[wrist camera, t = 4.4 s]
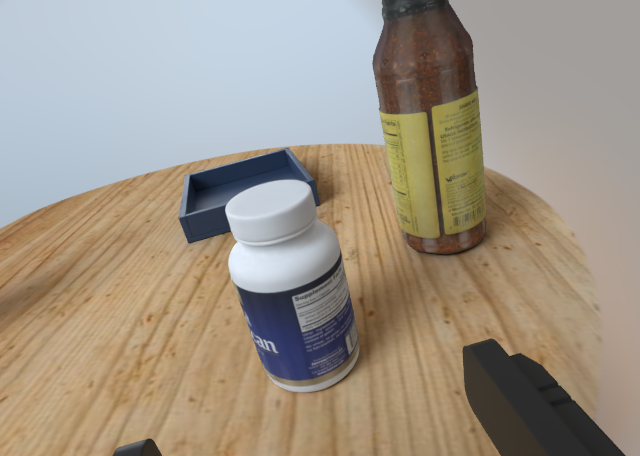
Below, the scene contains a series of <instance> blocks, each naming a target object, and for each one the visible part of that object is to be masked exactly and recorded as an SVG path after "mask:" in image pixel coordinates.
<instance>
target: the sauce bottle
mask: <svg viewBox="0 0 640 456" xmlns="http://www.w3.org/2000/svg"><path fill="white" fill-rule="evenodd" d="M382 5H383V8H382V16H383V19H384V26H383V30H382V33H381V36H380V39H379V42H378V44H377V47H376V50H375V54H374V56H373V70H374V75H375V80H376V87H377V91H378V97H379V103H380V108H379V111H380V117H381V123H382V128H383V134H384V139H385V145H386V151H387V157H388V162H389V168H390V174H391V180H392V185H393V191H394V197H395V203H396V209H397V215H398V221H399V225H400V227H401V229H402V233H403V236H404V239H405V240H406V242H407V243H408V244H409V245H410V247H412V248H413V249H415V250H416V251H418V252H425V253H436V254H451V253H458V252H461V251H464V250H466V249H470V248H472V247H474V246H475V245H476V244H478V243H479V242H480V241H481V240H482V239H483V236H484V234H485V230H486V221H485V216H486V212H487V209H486V195H485V182H484V166H483V152H482V139H481V124H480V112H479V99H478V88H477V86H476V81H475V72H474V62H473V44H472V39H471V37H470V35H469V34H468V32H467V31H466V30H465V28H464V27H463V25H462V23H461V22H460V20H459V18H458V17H457V15H456V13H455V12H454V10H453V9H452V7H451V5H450V4H449V1H448V0H382Z"/></svg>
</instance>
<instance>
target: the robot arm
mask: <svg viewBox="0 0 640 456" xmlns="http://www.w3.org/2000/svg"><path fill="white" fill-rule="evenodd" d="M463 366H464V382H465V391H466V395H467V398H468V401H469V404H470V406H471V408H472V410H473V412H474V414H475V415H476V417H477V418H478V420H479V422H480V423H481V425H482V426H483V428H484V429H485V431H486V433H487V434H488V436H489V437H490V439H491V441H492V442H493V444H494V445H495V447H496V448H497V450H498V452H499V453H500V455H501V456H625V455H624V454H623V453H622V451H621V450H620V449H619V448H618V447H617V446H616V445H615V444H614V443H613V442H612V441H611V440H610V439H609V437H608V436H607V435H606V434H605V433H604V432H603V431H602V430H601V429H600V428H599V427H598V426H597V425H596V423H595V422H594V421H593V420H592V419H591V418H590V417H589V416H588V415H587V414H586V413H585V412H584V411H583V409H582V408H581V407H580V406H579V405H578V404H577V403H576V402H575V401H574V400H572V399H571V397H570V395H569V394H568V393H567V392H566V391H565V390H564V389H563V388H562V387H561V386H559V385H558V383H557V381H556V380H555V379H554V378H553V377H552V376H551V375H550V374H549V373H548V372H547V371H546V370H545V369H544V368H543V366H542V365H540V364H538V363H537V362H535V361H533V360H531V359H530V358H528V357H526V356H524V355H523V354H521V353H519V354H516V355H512V356H509V355H508V354H507V353H506V352H505V351H504V349H503V348H502V347H501V346H500V345H499V344H498V343H497V341H495V340H494V339H488V340H485V341H481V342H478V343H474V344H471V345H468V346H464V347H463ZM113 456H162V454H161V453H160V451H159V449H158V447H157V446H156V444H155V442H154V441H153V440H152V439H146V440H142V441H139V442H135V443H132V444H129V445H125V446H122V447H119V448H117V449H116V450H115V452H114V454H113Z"/></svg>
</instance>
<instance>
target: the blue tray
mask: <svg viewBox="0 0 640 456" xmlns="http://www.w3.org/2000/svg"><path fill="white" fill-rule="evenodd" d="M278 180H299V181H303V182H305V183H307V184H308V185H309V186H310V187H311V189H312V193H313V197H314V201H315V205H316V206H318V205H320V202H319V197H318V193H317V188H316V184H315V180H314V179H313V177H312V176H311V175H310V174H309V173H308V171H307V170H306V169H305V168H304V166H303V165H302V164H301V163H300V161H299V160H298V159H297V158H296V156H295V155H294V154H293V153H292V151H291V150H290V149H289V148H285V149H282V150H278V151H274V152H270V153H267V154H263V155H259V156H255V157H252V158H248V159H244V160H241V161H237V162H233V163H229V164H226V165H222V166H218V167H215V168H211V169H207V170H203V171H200V172H196V173H192V174H188V175H185V181H184V187H183V194H182V201H181V207H180V214H179V220H180V223H181V225H182V228H183V231H184V233H185V236H186V238H187V241H188V243H191V242H195V241H198V240H201V239H205V238H208V237H212V236H215V235H219V234H222V233H225V232H229V231H231V229H230V224H229V221H228V218H227V215H226V212H225V208H226V205H227V204H228V202H229V201H230V200H231V199H232V198H233V197H235V196H236V195H238V194H239V193H241V192H243V191H245V190H247V189H249V188H252V187H254V186H257V185H260V184H264V183H268V182H273V181H278Z"/></svg>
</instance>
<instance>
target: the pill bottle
mask: <svg viewBox="0 0 640 456" xmlns="http://www.w3.org/2000/svg"><path fill="white" fill-rule="evenodd" d="M225 212H226V215H227V218H228V221H229V224H230V229H231V232H232V233H233V236H234V238H235V239H236V241H238V242H237V243H236V244H235V246H234V247H233V249H232V251H231V253H230V256H229V261H228V265H229V271H230V275H231V278H232V281H233V284H234V287H235V289H236V292H237V295H238V298H239V301H240V304H241V306H242V309H243V312H244V315H245V317H246V320H247V323H248V326H249V329H250V332H251V334H252V337H253V340H254V343H255V345H256V348H257V351H258V354H259V357H260V359H261V362H262V365H263V367H264V369H265V372H266V373H267V375H268V377H269V378H270V379H271V380H272V381H273V382H274V383H275V384H276V385H278V386H279V387H281V388H283V389H285V390H288V391H292V392H301V393H304V392H314V391H319V390H322V389H325V388H327V387H329V386H331V385H333V384H335V383H337V382H338V381H340V380H341V379H342V378H343V377H345V376H346V375H347V374H348V373H349V371H350V370H351V369H352V368H353V366H354V364H355V363H356V360H357V358H358V354H359V338H358V332H357V327H356V322H355V317H354V312H353V308H352V303H351V298H350V293H349V289H348V284H347V279H346V274H345V270H344V264H343V259H342V255H341V250H340V246H339V242H338V239H337V236H336V234H335V232H334V231H333V230H332V229H331V228H330V227H329V226H328V225H327V224H325V223H323V222H321V221H319V220H316V219H317V212H316V205H315V201H314V197H313V193H312V189H311V187H310V186H309V185H308V184H307V183H305V182H303V181H299V180H278V181H273V182H268V183H264V184H260V185H257V186H254V187H252V188H249V189H247V190H245V191H243V192H241V193H239V194H238V195H236V196H235V197H233V198H232V199H231V200H230V201H229V202H228V204H227V205H226V208H225Z"/></svg>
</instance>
